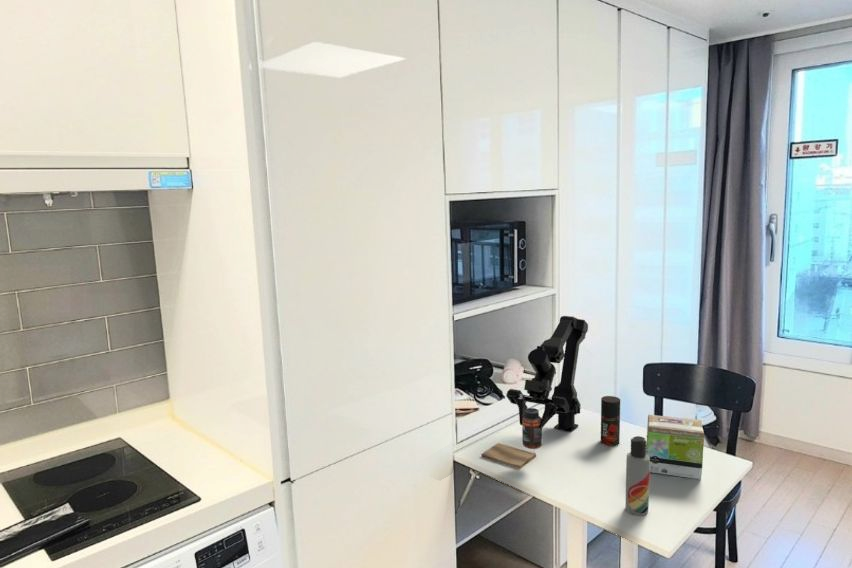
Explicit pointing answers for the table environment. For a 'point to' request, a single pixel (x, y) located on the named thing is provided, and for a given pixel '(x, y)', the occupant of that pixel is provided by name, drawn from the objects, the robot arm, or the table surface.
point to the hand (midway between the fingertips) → (530, 426)
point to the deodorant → (610, 420)
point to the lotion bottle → (637, 477)
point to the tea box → (675, 446)
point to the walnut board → (508, 455)
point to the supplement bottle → (531, 429)
